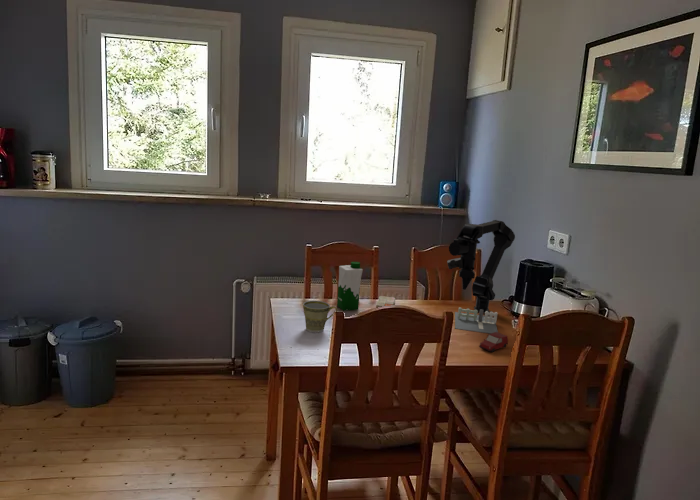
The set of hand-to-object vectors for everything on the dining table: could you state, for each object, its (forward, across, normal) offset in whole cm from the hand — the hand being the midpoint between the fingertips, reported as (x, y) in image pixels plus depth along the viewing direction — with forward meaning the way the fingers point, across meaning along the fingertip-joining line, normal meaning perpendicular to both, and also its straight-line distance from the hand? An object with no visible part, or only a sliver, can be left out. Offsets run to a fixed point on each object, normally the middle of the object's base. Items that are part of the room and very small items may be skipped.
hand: (464, 289), depth 227 cm
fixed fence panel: (+12, +5, +11) cm, 17 cm away
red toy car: (+12, +34, +11) cm, 38 cm away
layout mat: (+12, +8, +6) cm, 15 cm away
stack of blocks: (+12, +28, -30) cm, 43 cm away
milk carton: (+12, +10, -48) cm, 51 cm away
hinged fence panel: (+11, +6, +2) cm, 13 cm away
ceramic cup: (+12, +42, -54) cm, 69 cm away
